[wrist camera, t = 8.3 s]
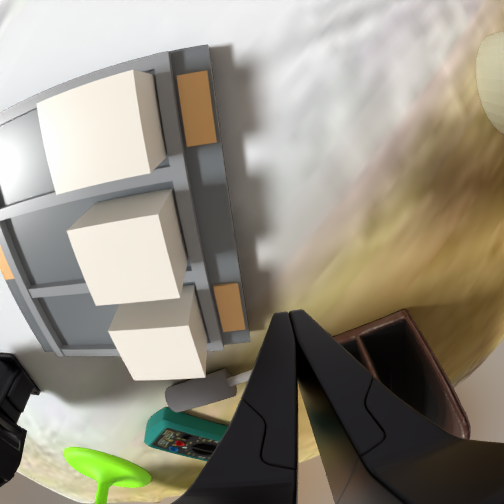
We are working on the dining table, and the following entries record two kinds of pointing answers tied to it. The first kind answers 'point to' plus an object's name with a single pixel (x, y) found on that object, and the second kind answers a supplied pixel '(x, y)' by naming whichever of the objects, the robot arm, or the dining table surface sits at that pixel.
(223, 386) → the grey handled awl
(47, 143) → the cream square block
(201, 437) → the digital multimeter
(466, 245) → the dining table surface
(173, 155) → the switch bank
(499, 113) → the reusable coffee cup
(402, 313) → the letter holder
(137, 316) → the white block
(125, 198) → the cream block
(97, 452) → the wineglass
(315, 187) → the dining table surface
